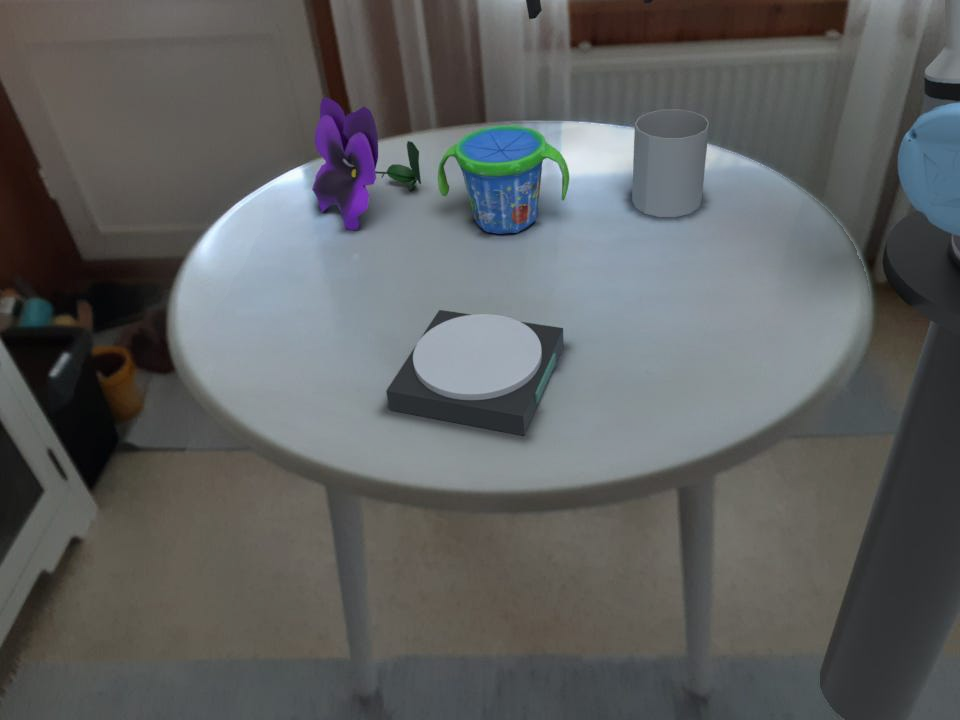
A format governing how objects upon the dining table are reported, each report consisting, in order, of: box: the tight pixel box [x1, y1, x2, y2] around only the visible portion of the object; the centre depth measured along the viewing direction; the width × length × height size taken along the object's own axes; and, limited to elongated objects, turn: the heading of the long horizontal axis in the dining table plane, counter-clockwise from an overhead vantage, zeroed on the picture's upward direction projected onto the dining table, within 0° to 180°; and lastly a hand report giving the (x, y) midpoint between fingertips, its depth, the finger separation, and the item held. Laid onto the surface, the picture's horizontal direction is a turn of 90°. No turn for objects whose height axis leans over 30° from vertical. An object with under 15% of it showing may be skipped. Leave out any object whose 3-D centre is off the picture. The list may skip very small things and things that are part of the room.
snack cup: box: [437, 125, 570, 235], centre depth 100 cm, size 16×10×10 cm
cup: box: [631, 108, 710, 218], centre depth 101 cm, size 8×8×10 cm
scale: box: [385, 309, 565, 436], centre depth 79 cm, size 13×13×3 cm
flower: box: [311, 96, 422, 231], centre depth 107 cm, size 15×15×14 cm
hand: (594, 7), depth 93 cm, fingers open, 13 cm apart
